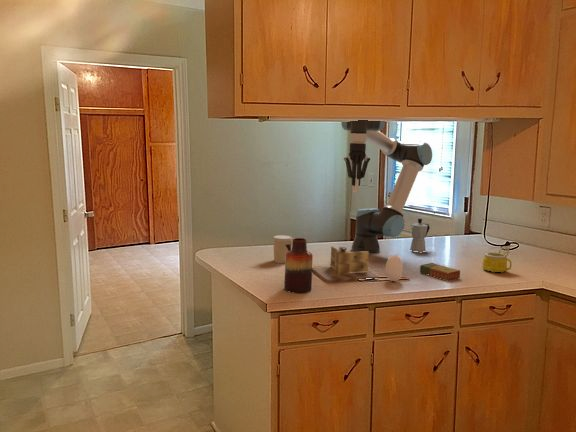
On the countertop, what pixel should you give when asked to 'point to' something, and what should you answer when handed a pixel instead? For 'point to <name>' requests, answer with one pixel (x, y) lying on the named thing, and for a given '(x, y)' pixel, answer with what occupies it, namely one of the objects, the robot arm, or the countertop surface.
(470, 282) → the countertop surface
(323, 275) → the hinge mount
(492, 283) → the countertop surface
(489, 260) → the mug
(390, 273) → the egg
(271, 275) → the countertop surface
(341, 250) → the hinge pin
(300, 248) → the vase
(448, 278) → the carton
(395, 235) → the robot arm
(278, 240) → the coffee cup
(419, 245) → the coffee maker
